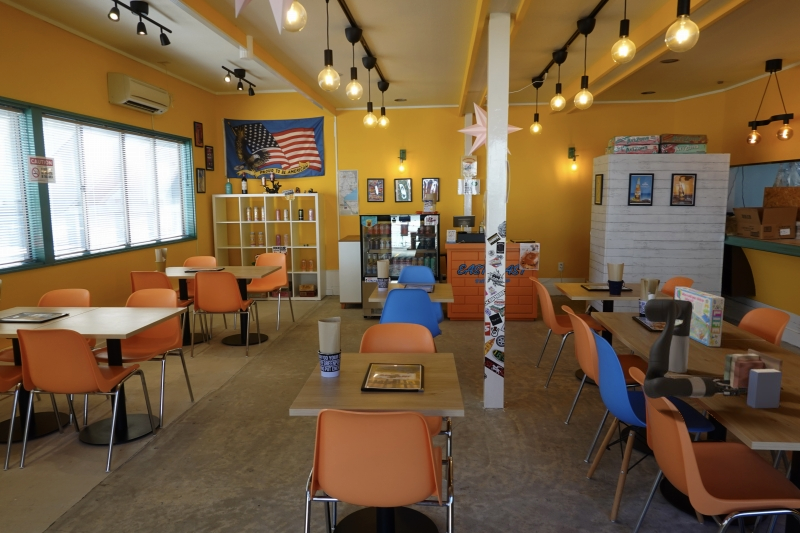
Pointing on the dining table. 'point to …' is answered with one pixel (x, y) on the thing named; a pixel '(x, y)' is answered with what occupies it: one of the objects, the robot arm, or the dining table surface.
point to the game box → (703, 315)
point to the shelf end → (748, 366)
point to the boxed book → (764, 388)
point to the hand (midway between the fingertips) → (737, 386)
